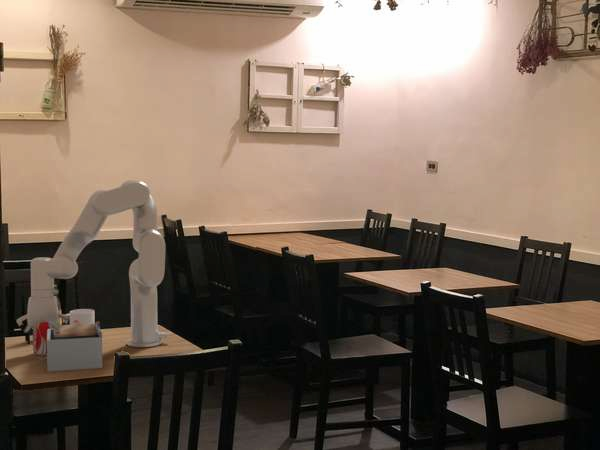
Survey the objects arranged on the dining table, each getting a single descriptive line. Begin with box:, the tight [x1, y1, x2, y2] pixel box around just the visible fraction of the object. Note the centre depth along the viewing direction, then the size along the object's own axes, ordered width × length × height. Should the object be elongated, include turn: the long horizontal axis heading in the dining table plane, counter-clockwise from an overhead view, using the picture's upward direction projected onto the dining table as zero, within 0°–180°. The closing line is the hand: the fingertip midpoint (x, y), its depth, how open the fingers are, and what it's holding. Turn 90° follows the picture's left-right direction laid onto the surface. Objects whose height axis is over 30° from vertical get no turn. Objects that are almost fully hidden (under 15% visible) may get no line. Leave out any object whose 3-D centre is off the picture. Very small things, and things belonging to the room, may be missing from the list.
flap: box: [54, 323, 96, 337], centre depth 263 cm, size 13×15×1 cm
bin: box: [46, 321, 104, 373], centre depth 263 cm, size 17×18×12 cm
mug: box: [62, 308, 96, 325], centre depth 296 cm, size 12×9×11 cm
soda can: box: [32, 321, 54, 357], centre depth 275 cm, size 7×7×12 cm
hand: (43, 342), depth 275 cm, fingers open, 9 cm apart
